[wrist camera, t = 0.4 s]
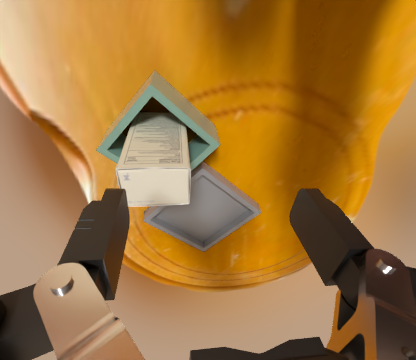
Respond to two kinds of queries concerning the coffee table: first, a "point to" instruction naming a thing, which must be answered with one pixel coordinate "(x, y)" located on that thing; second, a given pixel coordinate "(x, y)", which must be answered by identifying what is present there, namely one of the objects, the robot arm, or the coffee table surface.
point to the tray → (205, 210)
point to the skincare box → (155, 161)
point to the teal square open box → (174, 103)
